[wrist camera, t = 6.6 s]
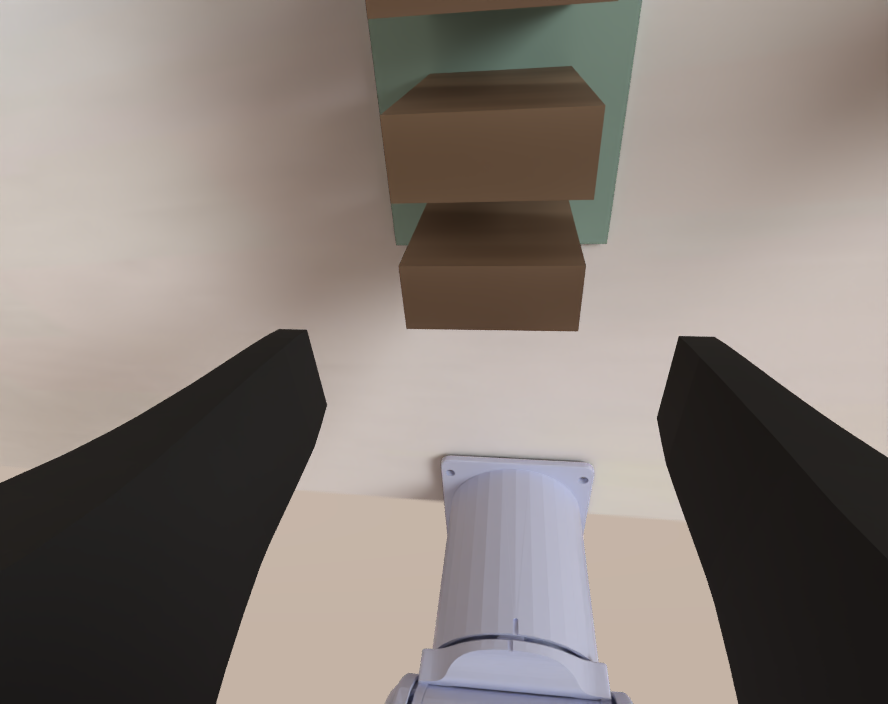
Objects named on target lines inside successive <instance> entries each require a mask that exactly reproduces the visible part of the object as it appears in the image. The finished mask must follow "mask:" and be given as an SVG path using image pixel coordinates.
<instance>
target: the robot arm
mask: <svg viewBox="0 0 888 704" xmlns="http://www.w3.org/2000/svg"><path fill="white" fill-rule="evenodd" d="M326 407H327V403H326V400H325V396H324V392H323V388H322V385H321V381H320V377H319V373H318V370H317V366H316V362H315V358H314V355H313V351H312V347H311V344H310V340H309V336H308V332H307V330H292V329H278V330H276V331H275V332H273V333H271V334H269V335H267V336H265V337H264V338H262V339H260V340H259V341H257V342H256V343H254V344H252V345H251V346H249V347H248V348H246V349H245V350H243V351H242V352H240V353H238V354H237V355H235V356H234V357H232V358H231V359H229V360H228V361H226V362H225V363H223V364H222V365H220V366H218V367H217V368H215V369H214V370H212V371H211V372H209V373H208V374H206V375H205V376H203V377H201V378H200V379H198V380H197V381H195V382H194V383H192V384H191V385H189V386H187V387H186V388H184V389H182V390H181V391H179V392H177V393H176V394H174V395H172V396H171V397H169V398H167V399H166V400H164V401H162V402H161V403H159V404H157V405H156V406H154V407H152V408H151V409H149V410H147V411H146V412H144V413H142V414H141V415H139V416H137V417H135V418H134V419H132V420H130V421H128V422H126V423H125V424H123V425H121V426H119V427H117V428H115V429H114V430H112V431H110V432H108V433H106V434H104V435H102V436H100V437H98V438H96V439H94V440H92V441H90V442H88V443H86V444H84V445H82V446H80V447H78V448H76V449H74V450H72V451H70V452H68V453H66V454H64V455H62V456H60V457H58V458H56V459H53V460H51V461H49V462H47V463H44V464H42V465H40V466H38V467H35V468H33V469H31V470H29V471H26V472H24V473H22V474H19V475H17V476H15V477H13V478H10V479H8V480H6V481H4V482H1V483H0V704H216V701H217V698H218V694H219V691H220V688H221V684H222V680H223V677H224V674H225V670H226V667H227V664H228V661H229V658H230V655H231V651H232V648H233V645H234V642H235V639H236V636H237V633H238V630H239V626H240V623H241V620H242V617H243V614H244V611H245V608H246V606H247V603H248V600H249V597H250V594H251V591H252V588H253V585H254V583H255V580H256V577H257V574H258V571H259V568H260V566H261V563H262V561H263V558H264V556H265V554H266V551H267V549H268V546H269V544H270V542H271V540H272V537H273V535H274V533H275V531H276V529H277V527H278V525H279V523H280V520H281V518H282V516H283V514H284V512H285V510H286V507H287V505H288V503H289V501H290V499H291V497H292V495H293V492H294V491H295V488H296V486H297V484H298V482H299V480H300V478H301V476H302V473H303V471H304V469H305V467H306V465H307V462H308V460H309V458H310V456H311V454H312V451H313V449H314V447H315V444H316V440H317V437H318V434H319V431H320V428H321V424H322V421H323V417H324V414H325V410H326ZM657 421H658V426H659V432H660V437H661V442H662V447H663V452H664V456H665V461H666V465H667V468H668V471H669V474H670V477H671V480H672V483H673V486H674V489H675V491H676V494H677V497H678V500H679V503H680V506H681V508H682V511H683V514H684V517H685V520H686V522H687V525H688V528H689V531H690V533H691V536H692V539H693V542H694V544H695V547H696V550H697V553H698V556H699V558H700V561H701V564H702V567H703V570H704V572H705V575H706V578H707V581H708V585H709V588H710V591H711V594H712V597H713V601H714V604H715V607H716V612H717V615H718V620H719V624H720V628H721V632H722V636H723V640H724V644H725V648H726V652H727V656H728V660H729V664H730V668H731V673H732V678H733V682H734V687H735V691H736V695H737V700H738V704H888V457H886V456H885V455H883V454H881V453H880V452H878V451H877V450H875V449H874V448H872V447H871V446H869V445H868V444H866V443H865V442H863V441H861V440H860V439H858V438H857V437H855V436H854V435H852V434H851V433H849V432H848V431H846V430H845V429H843V428H842V427H840V426H839V425H837V424H836V423H834V422H833V421H831V420H830V419H828V418H827V417H826V416H824V415H823V414H821V413H820V412H818V411H817V410H815V409H814V408H813V407H811V406H810V405H808V404H807V403H806V402H804V401H803V400H801V399H800V398H799V397H797V396H796V395H794V394H793V393H792V392H790V391H789V390H788V389H786V388H785V387H783V386H782V385H781V384H779V383H778V382H777V381H775V380H774V379H773V378H771V377H770V376H769V375H767V374H766V373H765V372H763V371H762V370H760V369H759V368H758V367H756V366H755V365H754V364H752V363H751V362H750V361H748V360H747V359H746V358H744V357H743V356H742V355H740V354H739V353H737V352H736V351H735V350H733V349H732V348H730V347H729V346H728V345H726V344H725V343H723V342H722V341H720V340H719V339H717V338H715V337H695V336H679V338H678V341H677V345H676V349H675V353H674V356H673V360H672V364H671V367H670V371H669V375H668V379H667V382H666V386H665V390H664V394H663V397H662V401H661V405H660V409H659V412H658V416H657ZM451 470H452V471H451ZM441 473H442V483H443V494H444V504H445V515H446V525H447V543H446V550H445V558H444V566H443V574H442V581H441V590H440V597H439V605H438V612H437V620H436V627H435V635H434V643H433V649H423V650H422V657H421V664H420V671H419V674H413V673H408V674H406V675H405V676H404V677H402V679H401V680H400V682H399V684H398V685H397V686H396V687H395V688H394V689H393V690H392V691H391V692H390V694H389V696H388V698H387V700H386V702H385V704H633V703H632V701H631V699H630V698H629V697H628V695H627V694H625V693H623V692H611V691H610V685H609V678H608V671H607V665H606V664H605V663H599V662H598V654H597V646H596V638H595V630H594V622H593V614H592V606H591V598H590V589H589V581H588V573H587V565H586V557H585V549H584V541H583V533H584V528H585V522H586V517H587V511H588V506H589V501H590V495H591V490H592V484H593V479H594V468H593V466H592V465H591V464H589V463H586V462H569V461H550V460H530V459H511V458H492V457H472V456H453V455H449V456H445V457H443V458H442V461H441ZM581 477H585V478H581Z"/></svg>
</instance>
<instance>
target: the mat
mask: <svg viewBox="0 0 888 704" xmlns="http://www.w3.org/2000/svg"><path fill="white" fill-rule="evenodd" d="M641 4H642V0H618V1H612V2H598V3H585V4H571V5H557V6H543V7H529V8H515V9H501V10H487V11H474V12H460V13H446V14H432V15H418V16H404V17H390V18H377V19H368V24H369V32H370V40H371V48H372V56H373V64H374V72H375V80H376V88H377V96H378V104H379V112H380V115H381V114H382V113H383V112H384V111H386V110H387V109H388V108H389V107H390V106H392V105H393V104H394V103H395V102H397V101H398V100H399V99H400V98H401V97H403V96H404V95H405V94H406V93H407V92H409V91H410V90H411V89H412V88H413V87H415V86H416V85H417V84H418V83H419V82H421V81H422V80H423V79H424V78H426V77H427V76H428V75H429V74H435V73H453V72H471V71H489V70H507V69H525V68H543V67H561V66H572V67H573V68H574V69H575V70H576V71H577V73H578V74H579V75H580V76H581V77H582V78H583V80H584V81H585V82H586V83H587V84H588V85H589V87H590V88H591V89H592V90H593V91H594V92H595V94H596V95H597V96H598V97H599V98H600V99H601V101H602V102H603V103H604V104H605V105H606V106H605V114H604V122H603V130H602V138H601V147H600V155H599V163H598V171H597V179H596V188H595V196H594V200H569V203H570V207H571V211H572V215H573V218H574V222H575V226H576V230H577V234H578V238H579V241H580V244H607V238H608V232H609V225H610V218H611V211H612V204H613V197H614V190H615V183H616V176H617V170H618V163H619V156H620V149H621V142H622V135H623V128H624V121H625V114H626V108H627V101H628V94H629V87H630V80H631V73H632V66H633V59H634V52H635V46H636V39H637V32H638V25H639V18H640V11H641ZM426 204H427V203H402V204H391V207H392V215H393V223H394V231H395V239H396V245H408V244H409V242H410V240H411V238H412V235H413V233H414V231H415V229H416V226H417V224H418V222H419V220H420V217H421V215H422V213H423V211H424V208H425V206H426Z"/></svg>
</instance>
